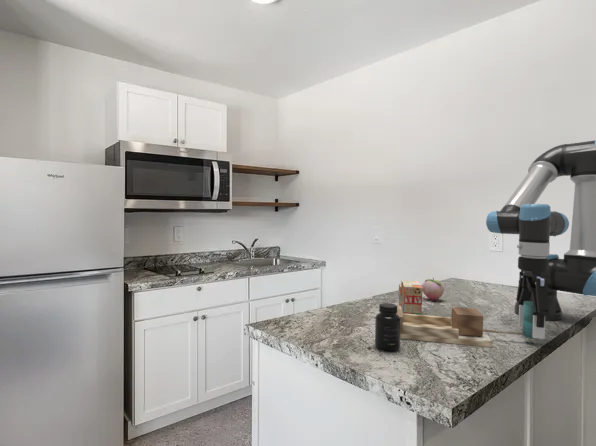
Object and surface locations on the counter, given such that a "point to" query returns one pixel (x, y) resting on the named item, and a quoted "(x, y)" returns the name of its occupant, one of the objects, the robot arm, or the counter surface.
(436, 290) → the decorative fruit
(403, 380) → the counter surface
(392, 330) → the supplement bottle
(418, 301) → the stack of blocks
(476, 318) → the brown teal long piece
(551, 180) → the robot arm
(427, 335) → the lane board
